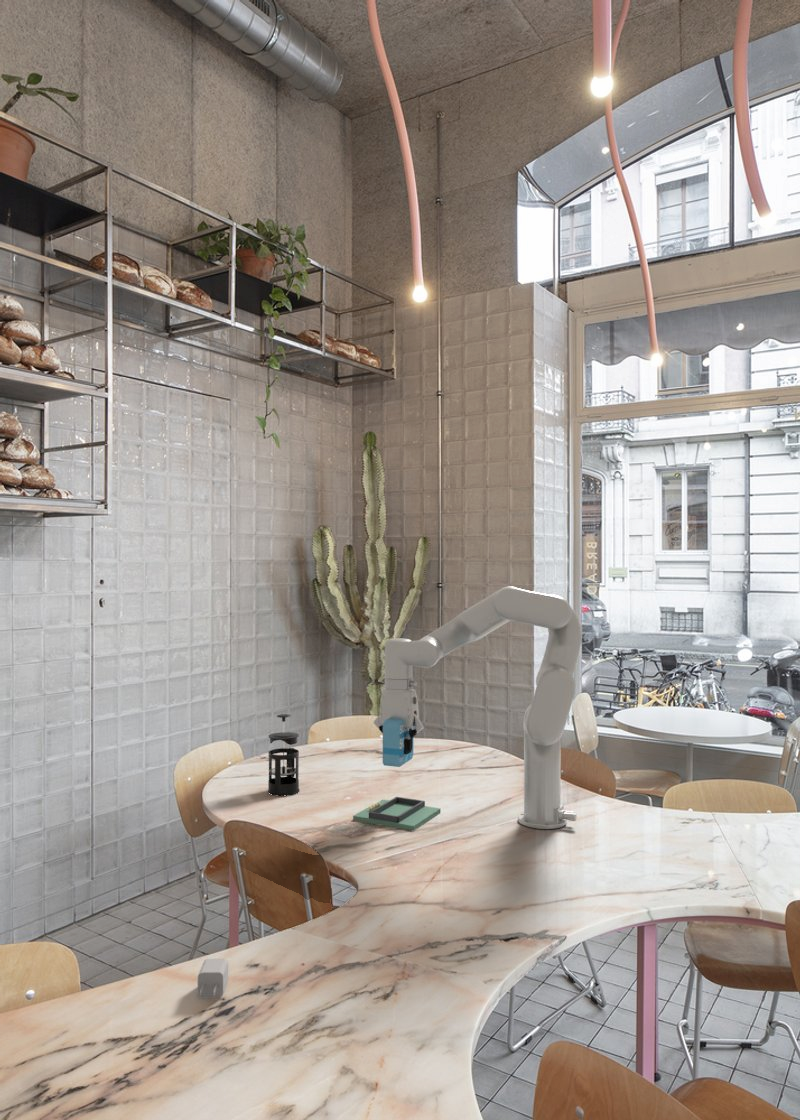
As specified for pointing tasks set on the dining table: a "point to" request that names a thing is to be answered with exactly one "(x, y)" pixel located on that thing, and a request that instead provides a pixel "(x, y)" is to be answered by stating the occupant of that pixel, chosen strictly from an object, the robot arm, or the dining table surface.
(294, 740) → the french press
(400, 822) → the circuit board
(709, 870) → the dining table surface
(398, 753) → the data package
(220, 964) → the usb wall charger
